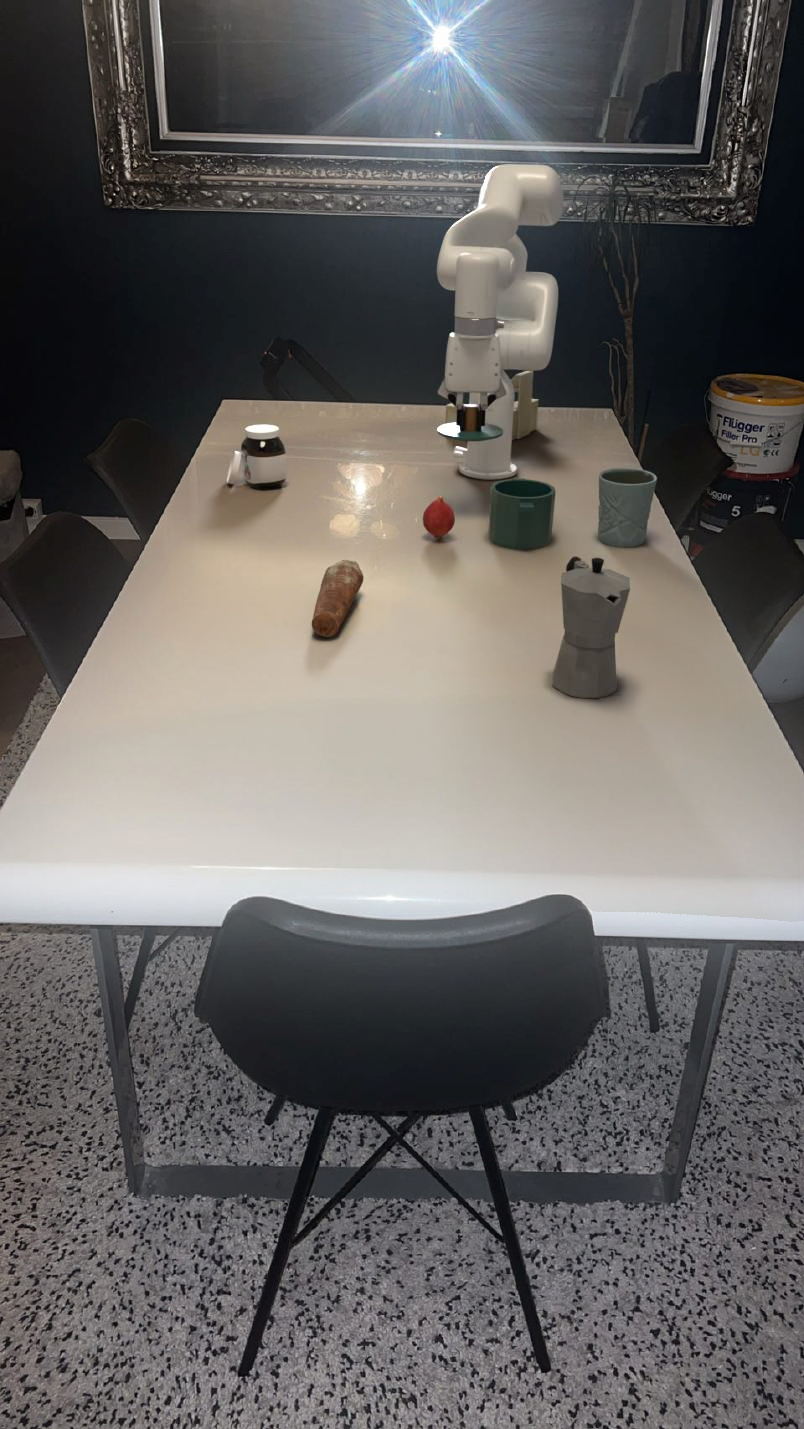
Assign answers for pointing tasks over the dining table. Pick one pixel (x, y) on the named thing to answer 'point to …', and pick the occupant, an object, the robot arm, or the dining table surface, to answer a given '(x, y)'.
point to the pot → (521, 513)
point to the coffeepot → (589, 628)
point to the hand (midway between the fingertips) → (470, 428)
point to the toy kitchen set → (523, 407)
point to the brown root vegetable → (336, 596)
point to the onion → (438, 518)
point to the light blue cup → (624, 505)
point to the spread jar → (260, 458)
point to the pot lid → (470, 428)
